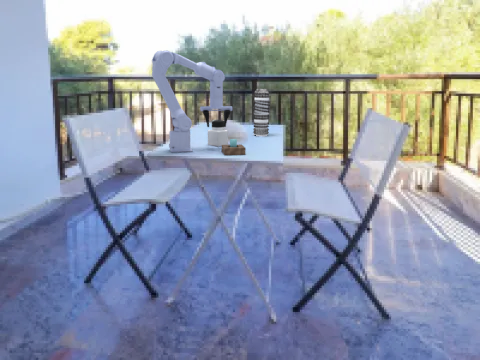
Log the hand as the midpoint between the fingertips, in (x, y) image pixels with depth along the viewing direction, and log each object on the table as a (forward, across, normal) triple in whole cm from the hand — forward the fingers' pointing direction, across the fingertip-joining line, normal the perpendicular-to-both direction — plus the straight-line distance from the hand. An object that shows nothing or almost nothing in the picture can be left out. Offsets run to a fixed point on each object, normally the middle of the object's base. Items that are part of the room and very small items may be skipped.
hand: (216, 126), depth 215 cm
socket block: (+10, +6, -14) cm, 18 cm away
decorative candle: (+10, +30, +37) cm, 49 cm away
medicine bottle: (+10, +2, +9) cm, 14 cm away
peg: (+10, +6, -13) cm, 18 cm away
